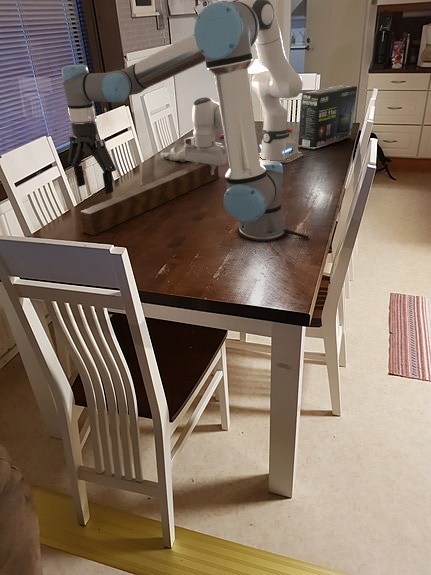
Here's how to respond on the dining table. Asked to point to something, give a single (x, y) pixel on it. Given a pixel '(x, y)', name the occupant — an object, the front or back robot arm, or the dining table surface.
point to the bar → (144, 198)
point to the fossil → (175, 153)
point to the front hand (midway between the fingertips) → (95, 189)
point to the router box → (326, 115)
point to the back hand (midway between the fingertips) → (205, 173)
